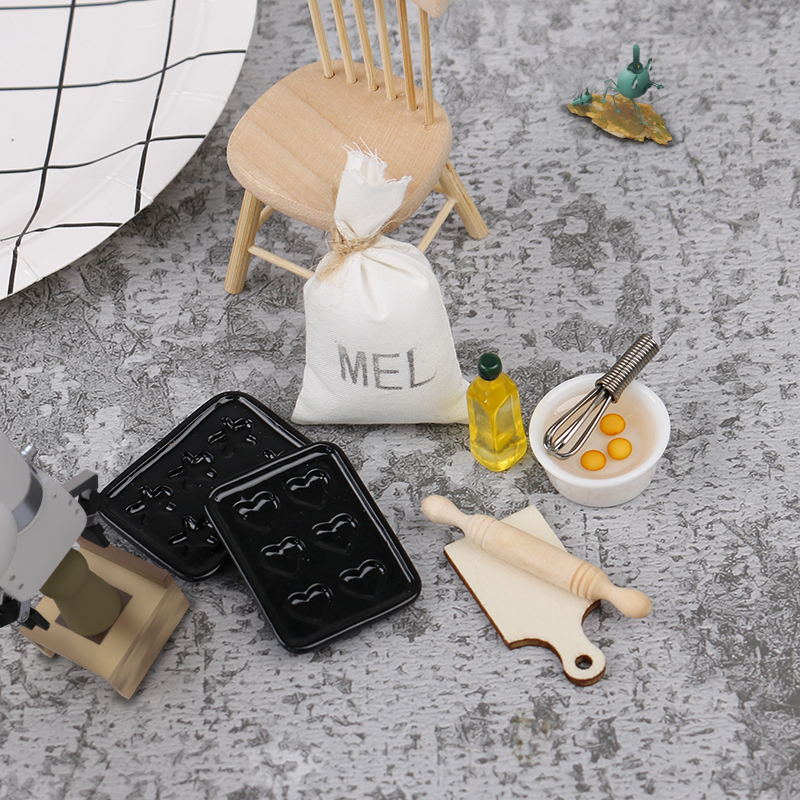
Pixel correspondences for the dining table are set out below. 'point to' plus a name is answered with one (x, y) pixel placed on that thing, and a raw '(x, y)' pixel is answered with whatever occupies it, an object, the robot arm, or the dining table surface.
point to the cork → (82, 596)
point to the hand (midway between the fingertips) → (67, 580)
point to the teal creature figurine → (625, 105)
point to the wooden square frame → (132, 630)
